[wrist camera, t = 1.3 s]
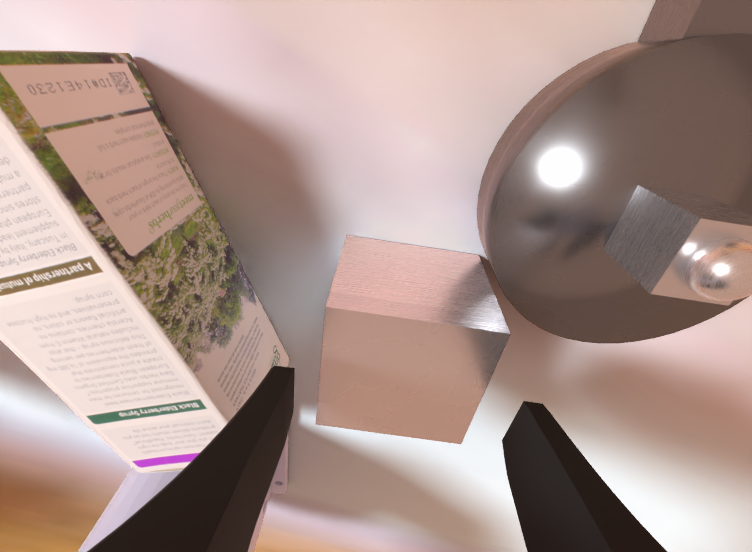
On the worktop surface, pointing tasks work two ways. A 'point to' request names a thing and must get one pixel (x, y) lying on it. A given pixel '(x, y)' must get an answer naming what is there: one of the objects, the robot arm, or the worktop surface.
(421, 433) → the beige small block
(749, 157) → the ratchet
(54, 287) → the syrup box
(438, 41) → the worktop surface
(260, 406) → the robot arm
